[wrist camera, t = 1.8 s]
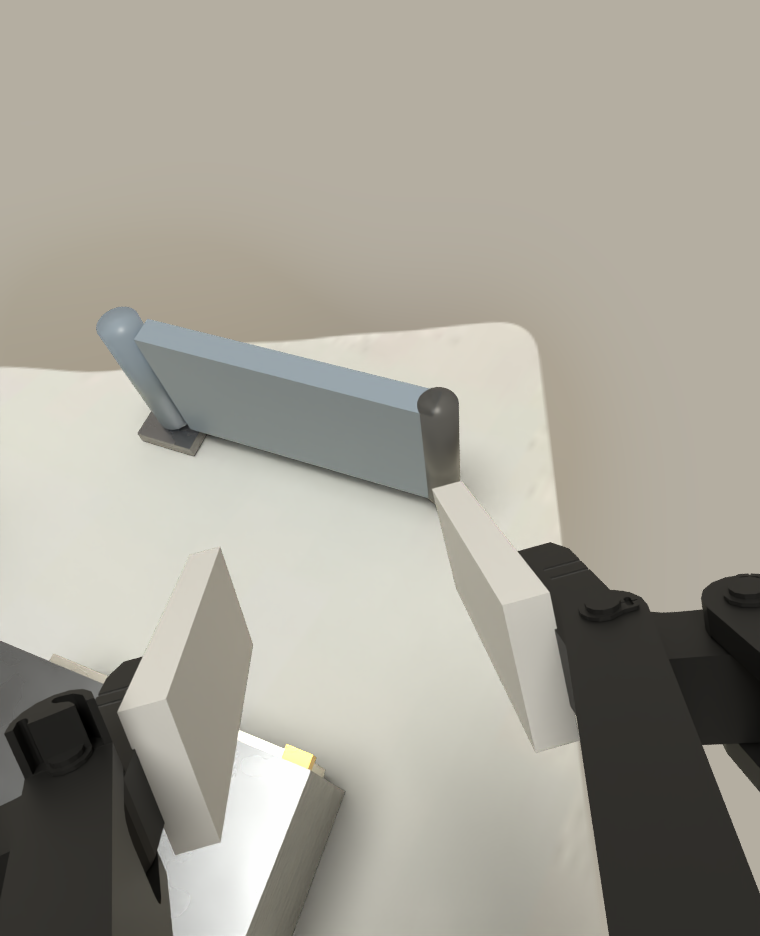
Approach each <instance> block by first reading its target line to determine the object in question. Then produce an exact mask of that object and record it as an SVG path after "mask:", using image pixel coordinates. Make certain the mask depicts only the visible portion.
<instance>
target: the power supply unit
mask: <svg viewBox="0 0 760 936" xmlns="http://www.w3.org/2000/svg"><path fill="white" fill-rule="evenodd" d="M107 677H108V676H106V675H104V674H102V673H99V672H97V671H94V670H92V669H89V668H87V667H85V666H82V665H80V664H77V663H75V662H72V661H70V660H68V659H65V658H63V657H60V656H58V655H56V654H53V655H52V657H51V659H50V661H47V660H45V659H43V658H40V657H38V656H35V655H33V654H31V653H28V652H26V651H23V650H21V649H19V648H16V647H14V646H12V645H9V644H7V643H4V642H2V641H0V806H1V805H3V804H5V803H7V802H10V801H12V800H14V799H16V798H17V797H19V796H21V795H22V790H23V785H24V780H25V778H24V776H23V774H22V772H21V770H20V768H19V765H18V763H17V761H16V759H15V757H14V754H13V752H12V750H11V748H10V746H9V744H8V741H7V739H6V737H5V735H4V733H5V731H6V729H7V728H8V726H9V724H10V723H11V722H12V721H13V720H14V719H16V718H17V717H18V716H19V715H20V714H21V713H22V712H24V711H25V710H27V709H28V708H30V707H31V706H33V705H34V704H36V703H38V702H40V701H42V700H44V699H46V698H48V697H51V696H53V695H55V694H59V693H62V692H65V691H68V690H76V689H85V690H89V691H92V694H93V696H94V698H95V699H96V697H98V693H99V691H100V689H101V688H102V686H103V684H104V682H105V680H106V678H107ZM315 760H316V757H315V756H314V755H312V754H309V753H307V752H304V751H302V750H300V749H297V748H295V747H292V746H290V745H286V747H285V749H283V748H281V747H278V746H276V745H273V744H271V743H269V742H266V741H264V740H261V739H259V738H256V737H254V736H252V735H249V734H247V733H244V732H242V731H240V730H239V734H238V740H237V746H236V752H235V758H234V764H233V770H232V777H231V783H230V789H229V795H228V801H227V807H226V813H225V819H224V825H223V831H222V837H221V842H220V843H217V844H213V845H210V846H206V847H203V848H199V849H196V850H192V851H189V852H185V853H182V854H178V855H175V854H174V852H173V849H172V847H171V844H170V842H169V839H168V837H167V834H166V832H165V829H164V828H163V831H162V835H161V839H160V842H159V846H158V849H157V851H158V853H159V856H160V858H161V860H162V863H163V865H164V868H165V870H166V872H167V879H168V889H169V899H170V909H171V919H172V930H173V936H292V935H293V932H294V929H295V926H296V924H297V921H298V918H299V916H300V913H301V910H302V907H303V905H304V902H305V899H306V897H307V894H308V891H309V888H310V886H311V883H312V880H313V878H314V875H315V872H316V869H317V867H318V864H319V861H320V859H321V856H322V853H323V850H324V848H325V845H326V842H327V840H328V837H329V834H330V831H331V829H332V826H333V823H334V821H335V818H336V815H337V812H338V810H339V807H340V804H341V802H342V799H343V796H344V793H345V791H344V790H342V789H340V788H339V787H337V786H336V785H334V784H332V783H331V782H329V781H327V780H326V779H324V778H323V776H324V774H325V771H326V770H325V769H323V768H322V767H320V766H319V765H317V764H316V763H315Z"/></svg>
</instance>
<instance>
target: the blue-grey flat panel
mask: <svg viewBox="0 0 760 936" xmlns="http://www.w3.org/2000/svg"><path fill="white" fill-rule="evenodd" d="M96 330H97V333H98V335H99V336H100V338H101V339H102V341H103V342H104V343H105V345H106V346H107V348H108V349H109V351H110V352H111V354H112V355H113V357H114V358H115V359H116V361H117V362H118V364H119V365H120V367H121V368H122V370H123V371H124V372H125V374H126V375H127V377H128V378H129V380H130V381H131V382H132V384H133V385H134V387H135V388H136V390H137V391H138V393H139V394H140V395H141V397H142V398H143V400H144V401H145V403H146V404H147V406H148V407H149V408H150V410H151V411H152V413H153V414H154V416H155V417H156V418H157V420H158V421H159V423H160V424H161V425H162V426H163V427H164V428H166V429H170V430H175V429H179V428H182V427H184V426H185V425H188V426H189V428H190V429H192V430H195V431H199V432H202V433H205V434H209V435H212V436H216V437H219V438H223V439H226V440H230V441H233V442H236V443H240V444H243V445H247V446H250V447H254V448H257V449H260V450H264V451H267V452H271V453H274V454H278V455H281V456H285V457H288V458H291V459H295V460H298V461H302V462H305V463H309V464H312V465H316V466H319V467H322V468H326V469H329V470H333V471H336V472H340V473H343V474H346V475H350V476H353V477H357V478H360V479H364V480H367V481H371V482H374V483H377V484H381V485H384V486H388V487H391V488H395V489H398V490H402V491H405V492H408V493H412V494H415V495H419V496H422V497H426V498H429V500H430V501H431V502H433V503H434V504H435V500H434V496H433V492H432V489H433V488H437V487H441V486H444V485H448V484H452V483H455V482H459V481H460V449H459V402H458V398H457V396H456V395H455V394H454V393H453V392H452V391H451V390H449V389H446V388H442V387H435V388H431V389H429V388H425V387H421V386H417V385H412V384H408V383H404V382H400V381H396V380H392V379H388V378H384V377H380V376H376V375H372V374H368V373H364V372H360V371H356V370H352V369H348V368H344V367H340V366H336V365H332V364H328V363H324V362H320V361H315V360H311V359H307V358H303V357H299V356H295V355H291V354H287V353H283V352H279V351H275V350H271V349H267V348H263V347H259V346H255V345H251V344H247V343H243V342H238V341H235V340H231V339H226V338H222V337H218V336H214V335H210V334H206V333H202V332H198V331H194V330H190V329H186V328H182V327H178V326H174V325H170V324H166V323H162V322H157V321H154V320H149V319H147V320H146V322H145V323H143V322H142V320H141V318H140V317H139V315H138V313H137V312H136V311H135V310H134V309H132V308H129V307H117V308H114V309H111V310H110V311H108V312H106V313H105V314H104V315H103V316H102V317H101V318H100V319H99V321H98V323H97V327H96Z"/></svg>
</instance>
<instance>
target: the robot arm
mask: <svg viewBox="0 0 760 936" xmlns="http://www.w3.org/2000/svg"><path fill="white" fill-rule="evenodd" d="M432 492H433V496H434V500H435V504H436V508H437V512H438V516H439V520H440V524H441V529H442V533H443V537H444V541H445V545H446V549H447V553H448V557H449V561H450V565H451V569H452V574H453V578H454V582H455V586H456V589H457V591H458V593H459V596H460V598H461V600H462V602H463V604H464V606H465V608H466V610H467V612H468V614H469V616H470V618H471V620H472V622H473V624H474V626H475V629H476V631H477V633H478V635H479V637H480V639H481V641H482V643H483V645H484V647H485V649H486V651H487V653H488V655H489V657H490V660H491V662H492V664H493V666H494V668H495V670H496V672H497V674H498V676H499V678H500V680H501V682H502V684H503V686H504V688H505V690H506V693H507V695H508V697H509V699H510V701H511V703H512V705H513V707H514V709H515V711H516V713H517V715H518V717H519V719H520V721H521V724H522V726H523V728H524V730H525V732H526V734H527V736H528V738H529V740H530V742H531V744H532V746H533V748H534V750H535V752H536V753H537V752H541V751H544V750H548V749H551V748H555V747H558V746H562V745H565V744H569V743H572V742H576V741H579V740H580V743H581V750H582V756H583V763H584V769H585V777H586V784H587V790H588V797H589V804H590V810H591V817H592V824H593V830H594V837H595V844H596V851H597V857H598V864H599V871H600V877H601V884H602V890H603V898H604V904H605V911H606V918H607V924H608V931H609V936H760V893H759V890H758V888H757V885H756V883H755V880H754V878H753V875H752V872H751V870H750V867H749V865H748V862H747V859H746V857H745V854H744V852H743V849H742V847H741V844H740V841H739V839H738V836H737V834H736V831H735V829H734V826H733V823H732V821H731V818H730V816H729V813H728V811H727V808H726V805H725V803H724V801H723V798H722V795H721V793H720V790H719V787H718V785H717V782H716V780H715V777H714V775H713V772H712V770H711V767H710V764H709V762H708V759H707V756H706V754H705V751H704V749H703V746H702V745H712V744H723V746H724V748H725V750H726V752H727V754H728V755H729V756H730V757H731V758H732V760H733V761H734V762H735V763H736V764H737V765H738V767H739V768H740V769H741V770H742V771H743V773H744V774H745V775H746V776H747V777H748V779H749V780H750V781H751V782H752V783H753V784H754V786H755V787H756V788H757V789H758V790H759V791H760V574H751V575H749V574H739V575H736V576H732V577H725V578H723V579H720V580H718V581H715V582H713V583H711V584H710V585H709V586H707V587H706V588H705V589H704V590H703V593H702V597H701V600H702V608H703V610H694V611H683V612H670V613H668V612H667V613H658V612H650V610H649V607H648V605H647V603H646V602H645V601H644V600H643V599H642V598H641V597H639V596H637V595H635V594H632V593H630V592H625V591H618V590H610V589H608V587H607V586H606V585H605V584H604V583H603V582H602V581H601V580H600V579H599V578H598V577H597V576H596V575H595V574H594V573H593V572H592V571H591V570H588V568H587V567H586V565H585V564H584V563H582V561H580V560H579V558H578V557H577V556H576V555H575V554H574V553H572V551H571V550H570V549H568V548H566V547H563V546H560V545H557V544H554V543H551V542H550V543H546V544H542V545H539V546H535V547H532V548H528V549H524V550H521V551H517V550H516V549H515V548H514V546H513V545H512V544H511V543H510V541H509V540H508V539H507V538H506V536H505V535H504V534H503V532H502V531H501V530H500V529H499V527H498V526H497V525H496V524H495V522H494V521H493V520H492V519H491V517H490V516H489V515H488V513H487V512H486V511H485V510H484V508H483V507H482V506H481V505H480V503H479V502H478V501H477V499H476V498H475V497H474V496H473V494H472V493H471V492H470V491H469V489H468V488H467V487H466V485H465V484H464V483H463V482H462V481H459V482H455V483H452V484H448V485H444V486H441V487H437V488H433V489H432ZM252 649H253V643H252V640H251V637H250V634H249V631H248V628H247V625H246V622H245V619H244V616H243V613H242V610H241V607H240V604H239V601H238V598H237V595H236V592H235V589H234V586H233V583H232V581H231V578H230V575H229V572H228V569H227V566H226V563H225V560H224V557H223V554H222V551H221V548H220V547H217V548H213V549H209V550H206V551H202V552H198V553H195V554H191V555H189V557H188V559H187V561H186V564H185V566H184V568H183V570H182V572H181V575H180V577H179V579H178V581H177V583H176V585H175V588H174V590H173V592H172V594H171V596H170V598H169V601H168V603H167V605H166V607H165V609H164V611H163V614H162V616H161V618H160V620H159V622H158V625H157V627H156V629H155V631H154V633H153V635H152V638H151V640H150V642H149V644H148V646H147V648H146V651H145V653H144V655H143V657H140V658H136V659H132V660H129V661H125V662H123V663H122V664H121V665H120V666H119V667H118V668H117V669H116V670H115V671H114V672H113V673H111V674H110V675H109V676H108V677H107V678H106V680H105V682H104V684H103V686H102V688H101V689H100V691H99V693H98V697H96V699H95V698H94V696H93V694H92V691H89V690H85V689H76V690H68V691H65V692H62V693H59V694H55V695H53V696H51V697H48V698H46V699H44V700H42V701H40V702H38V703H36V704H34V705H33V706H31V707H30V708H28V709H27V710H25V711H24V712H22V713H21V714H20V715H19V716H18V717H17V718H16V719H14V720H13V721H12V722H11V723H10V724H9V726H8V728H7V729H6V731H5V733H4V735H5V737H6V739H7V741H8V744H9V746H10V748H11V750H12V752H13V754H14V757H15V759H16V761H17V763H18V765H19V768H20V770H21V772H22V774H23V776H24V778H25V780H24V785H23V790H22V795H21V796H19V797H17V798H16V799H14V800H12V801H10V802H7V803H5V804H3V805H1V806H0V936H173V930H172V919H171V909H170V899H169V889H168V879H167V872H166V870H165V868H164V865H163V863H162V860H161V858H160V856H159V853H158V851H157V849H158V846H159V842H160V839H161V835H162V831H163V828H164V829H165V832H166V834H167V837H168V839H169V842H170V844H171V847H172V849H173V852H174V854H175V855H178V854H182V853H185V852H189V851H192V850H196V849H199V848H203V847H206V846H210V845H213V844H217V843H220V842H221V837H222V831H223V825H224V819H225V813H226V807H227V801H228V795H229V789H230V783H231V777H232V770H233V764H234V758H235V752H236V746H237V740H238V734H239V728H240V722H241V716H242V710H243V703H244V697H245V691H246V685H247V679H248V673H249V667H250V661H251V655H252ZM575 714H576V716H577V723H578V728H577V723H576V718H575ZM578 730H579V733H578Z"/></svg>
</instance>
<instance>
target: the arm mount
mask: <svg viewBox="0 0 760 936" xmlns="http://www.w3.org/2000/svg"><path fill="white" fill-rule="evenodd" d="M138 435H139V436H140V438H141V439H142V440H143V441H145V442H149V443H152V444H155V445H158V446H162V447H165V448H168V449H172V450H175V451H178V452H182V453H185V454H188V455H192V456H195V454H196V452H197V450H198V449H199V447H200V445H201V443H202V442H203V440H204V438H205V436H206V435H207V434H205V433H202V432H199V431H195V430H192V429H190V428H189V426H188V425H185V426H184V427H182V428H179V429H175V430H170V429H166V428H164V427H163V426H162V425H161V424H160V423H159V421H158V420H157V418H156V417H155V416H154V414H153V413H152V411H151V413H150V414H149V416H148V417H147V419H146V421H145V422H144V424H143V425H142V427H141V429H140V430H139V432H138Z"/></svg>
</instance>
